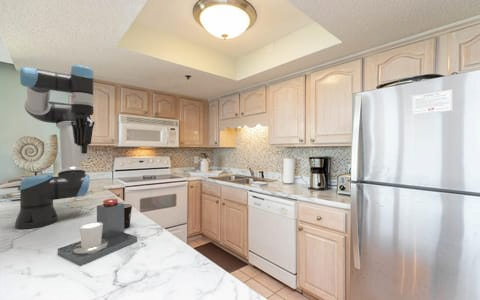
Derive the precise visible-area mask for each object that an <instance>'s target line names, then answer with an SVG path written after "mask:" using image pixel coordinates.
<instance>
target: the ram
mask: <svg viewBox="0 0 480 300" xmlns="http://www.w3.org/2000/svg"><path fill="white" fill-rule="evenodd" d="M118 203H119V200H118V198H109V199H108V198H107V199H104V200H103V203H102V204H103V205H105V206H113V205H115V204H118Z"/></svg>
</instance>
